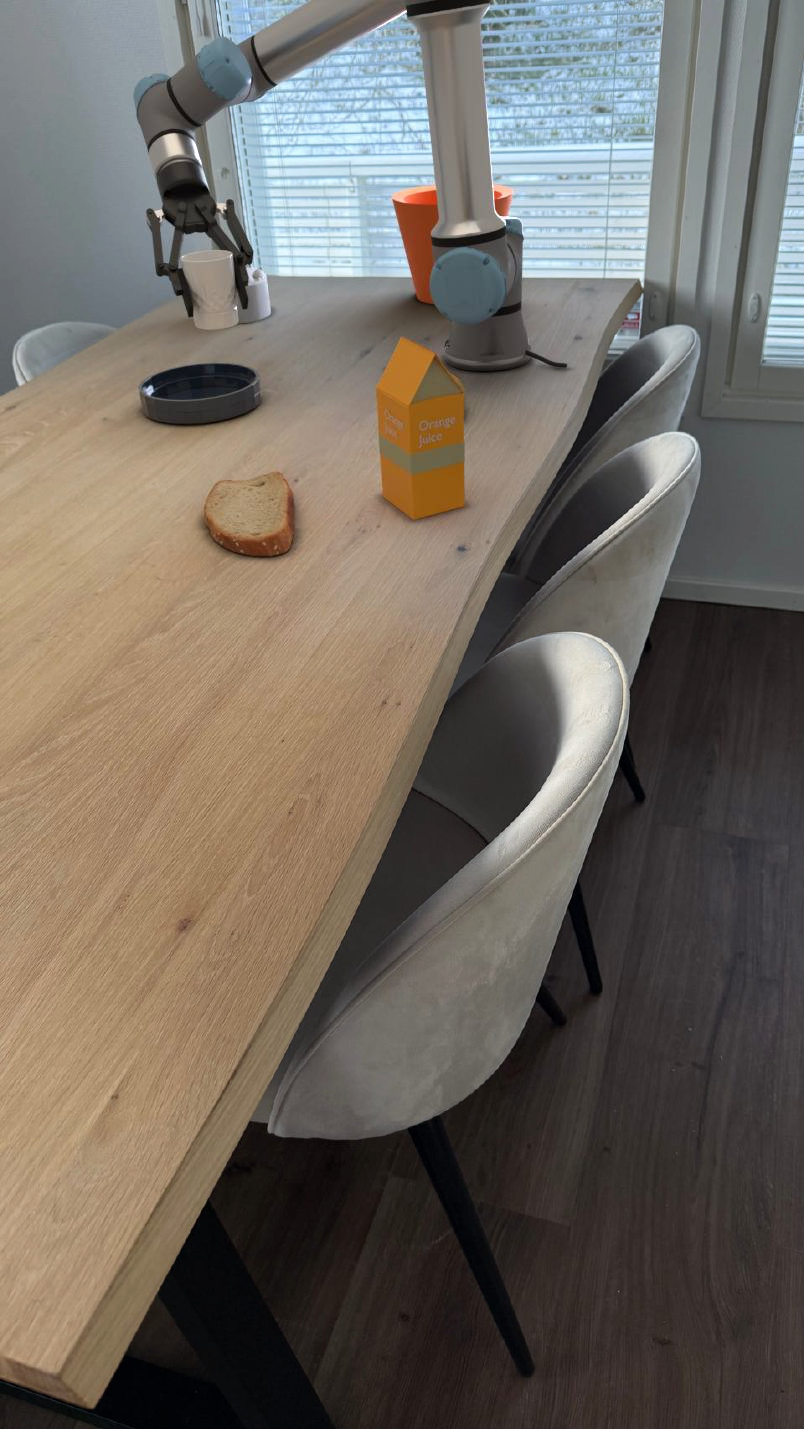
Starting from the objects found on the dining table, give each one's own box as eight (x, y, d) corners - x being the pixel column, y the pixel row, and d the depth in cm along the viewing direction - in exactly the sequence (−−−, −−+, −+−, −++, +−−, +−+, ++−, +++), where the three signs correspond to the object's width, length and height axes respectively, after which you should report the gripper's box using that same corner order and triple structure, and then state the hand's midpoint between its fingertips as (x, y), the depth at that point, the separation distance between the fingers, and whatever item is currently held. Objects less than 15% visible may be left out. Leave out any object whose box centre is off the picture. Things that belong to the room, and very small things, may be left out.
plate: (286, 400, 165) (283, 376, 163) (191, 435, 154) (186, 409, 151) (213, 378, 176) (210, 355, 174) (120, 409, 165) (114, 385, 163)
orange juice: (412, 520, 125) (405, 358, 114) (381, 496, 132) (371, 341, 120) (466, 506, 128) (464, 346, 116) (433, 483, 134) (428, 330, 123)
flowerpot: (516, 307, 205) (518, 201, 193) (395, 313, 206) (390, 207, 194) (507, 279, 225) (509, 180, 213) (397, 284, 226) (392, 187, 214)
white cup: (194, 320, 159) (182, 252, 153) (243, 316, 159) (234, 248, 153) (189, 333, 152) (177, 263, 146) (241, 329, 153) (231, 259, 147)
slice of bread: (271, 563, 118) (267, 534, 115) (159, 533, 126) (153, 505, 124) (356, 505, 130) (354, 478, 127) (249, 481, 138) (245, 455, 136)
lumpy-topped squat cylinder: (271, 305, 216) (266, 262, 211) (269, 321, 206) (263, 276, 200) (223, 308, 216) (217, 266, 211) (219, 325, 205) (212, 280, 200)
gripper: (243, 185, 160) (281, 312, 157) (114, 200, 155) (151, 332, 152) (246, 151, 153) (286, 284, 150) (111, 165, 148) (149, 303, 145)
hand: (218, 308), depth 151 cm, fingers closed on white cup, 8 cm apart
